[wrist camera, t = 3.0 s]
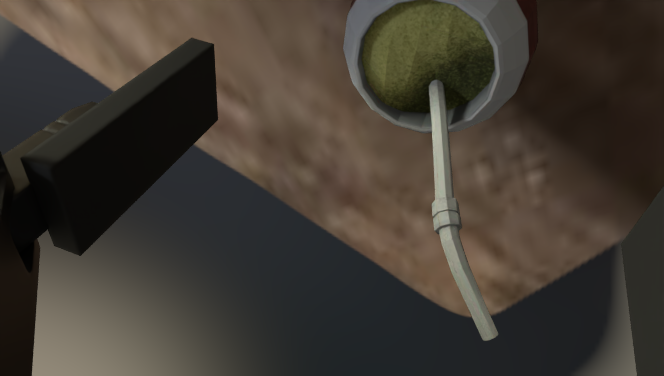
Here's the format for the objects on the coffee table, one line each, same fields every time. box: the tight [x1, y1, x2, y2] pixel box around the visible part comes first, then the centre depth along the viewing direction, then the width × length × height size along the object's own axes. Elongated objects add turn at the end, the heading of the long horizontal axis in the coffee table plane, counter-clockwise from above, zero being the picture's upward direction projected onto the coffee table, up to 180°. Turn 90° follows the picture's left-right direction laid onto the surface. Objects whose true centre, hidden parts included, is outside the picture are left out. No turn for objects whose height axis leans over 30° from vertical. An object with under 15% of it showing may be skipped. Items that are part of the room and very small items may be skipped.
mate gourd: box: [343, 0, 538, 340], centre depth 18 cm, size 8×8×15 cm
